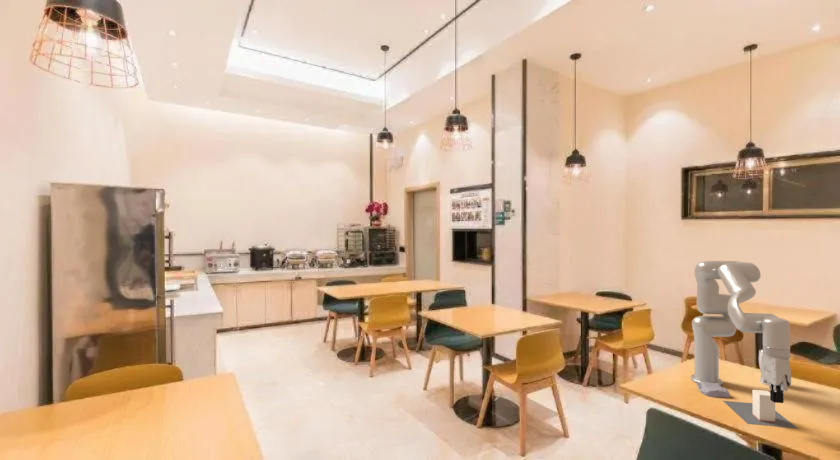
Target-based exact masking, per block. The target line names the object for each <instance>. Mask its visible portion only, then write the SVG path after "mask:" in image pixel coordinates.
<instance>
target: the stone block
mask: <svg viewBox="0 0 840 460" xmlns="http://www.w3.org/2000/svg"><path fill="white" fill-rule="evenodd" d="M696 387H697V388H698V390H699V392H700V393H701V394H702V395H705V396H707V397H711V398H726V399H730V391H729V390H728V389H727V388H725V387H722V385H721V386H720V385H719V384H718V383H710V382H701V383H697V382H696Z"/></svg>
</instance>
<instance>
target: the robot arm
mask: <svg viewBox="0 0 840 460" xmlns="http://www.w3.org/2000/svg"><path fill="white" fill-rule="evenodd" d="M694 278H695V281H696V308H697V309H696V310H697V311H698V312H699V313H701V314H704V315H698V316H696V317H694V318H693V319H692V320H691V326H692V327H691V329H692V333H693V344H694V345H693V346H694V347H693V348H694V374H691V375H690V380H691V381H692V382H695V383H696V384H697V383H701V382H710V383H718V384H719V385H720V386H721V387H722V386H723V384H724V381H723V380H722V379H721V378H720V374H719V373H720V371H719V370H720V367H719V364H720V363H719V361H720V360H719V358H720V357H719V356H720V354H719V353H720V352H719V345H718V343H717V342H716V340H715V339H714V338H713V337H715V338H716V337H733V336H735V334H736V332H737V330H738V331H739V332H741V333H745V334H746V333H748V334H749V333H750V334H754V333H755V334H762V350H763V355H762V362H761V371H760V377H761V376H762V378H764V379H765V380H767V381H768V382H769V385H768V386H769V392H770V400H771V401H773V402H775V404H776V403H777V404H778V403H779V404H783V403H784V393H785V392H787V391H788V390H789V389H788V387H791V385H792V371H791V363H790V359H791V331H790V330H791V327H790V322H789V320H787V319H785V318H782V317H778V316H777V315H776V314H774V313H773V314H772V313H766V312H764V313H761V312H743V310H742V308H741V307H740V304H742V303H744V302H747V301H748V300H751V299H753V298H754V297H755V295H756V293H757V292H756V291H757V290H756V289H755V287H754V285H753V284H752V283H757V282H758V281H759V280H760V278H761V271H760V269H759V267H758V266H757V265H756V264H754V263H752V262H747V261H746V262H745V261H738V260H735V261H734V260H707V261H705V260H704V261H700V262H698V263H697V264H696V265H695V267H694ZM717 280H721V282H722V283H723V285H724V286H725V288H726V290H727V291H728V294H727V293H721V294H720V285H719V283H718V282H717Z"/></svg>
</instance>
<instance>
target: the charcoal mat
mask: <svg viewBox="0 0 840 460" xmlns="http://www.w3.org/2000/svg"><path fill="white" fill-rule="evenodd" d="M722 402H723V403H725V405H727V406H728V407H729V408H730V409H731V410H732V411H733V413H735V414H736V415H737V416H738V417H739V418H741V419H742V420H743V421H744V422H745V423H746V424H747V425H757V426H767V427H775V428H776V427H777V428H785V429H787V428H789V429H797V430H798V429H799V427H797V425H795V424H793V423H792V422H791V421H790V420H788V419H787V418H785V417H784V416H783V415H782V414H780V413H779V412H778V411H776V410H775V422H766V421H759V420H758V419H757V418H756V417H755V416H753V402H743V401H731V400H730V401H729V400H722Z"/></svg>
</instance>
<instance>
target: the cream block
mask: <svg viewBox="0 0 840 460" xmlns="http://www.w3.org/2000/svg"><path fill="white" fill-rule="evenodd" d="M752 403H753V416H755V417H756V418H757V419H758V420H759V421H766V422H775V411H776V403H775V402H773V401H771V400H770V391H768V390H762V389H761V390H759V389H752Z"/></svg>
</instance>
